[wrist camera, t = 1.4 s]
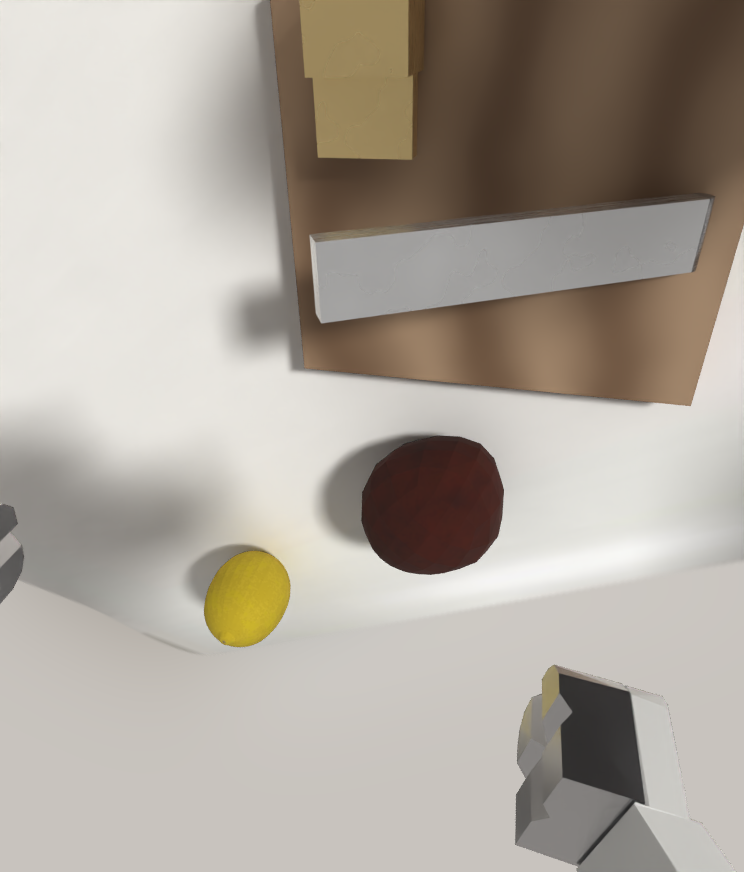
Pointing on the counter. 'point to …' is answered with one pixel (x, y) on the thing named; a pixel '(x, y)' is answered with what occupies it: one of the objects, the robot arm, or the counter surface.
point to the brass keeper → (364, 75)
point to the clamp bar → (504, 255)
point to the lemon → (247, 599)
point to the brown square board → (538, 186)
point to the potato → (433, 505)
